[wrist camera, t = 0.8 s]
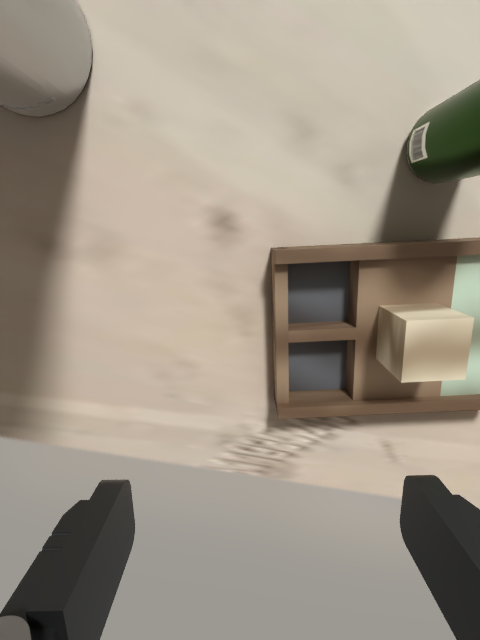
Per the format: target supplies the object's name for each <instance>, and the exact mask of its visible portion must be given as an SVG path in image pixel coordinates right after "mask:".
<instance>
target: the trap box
mask: <svg viewBox="0 0 480 640" xmlns="http://www.w3.org/2000/svg"><path fill="white" fill-rule="evenodd" d="M271 266H272V311H273V357H274V400H275V405H276V409H277V414H278V418H279V419H290V418H312V417H333V416H355V415H376V414H398V413H419V412H441V411H462V410H480V238H465V239H444V240H424V241H403V242H383V243H362V244H341V245H321V246H300V247H280V248H271ZM426 303H437V304H440V305H442V306H445V307H448V308H450V309H453V310H455V311H458V312H461V313H463V314H466V315H468V316H471V317H474V323H473V330H472V337H471V344H470V351H469V358H468V365H467V372H466V379H465V380H447V381H426V382H404V383H401V382H400V381H399V380H398V379H397V378H396V377H395V376H394V375H393V374H392V373H391V372H389V371H388V370H387V369H386V368H385V367H384V366H383V365H382V364H381V363H380V362H379V361H378V360H377V359H376V348H377V333H378V317H379V306H384V305H405V304H426Z"/></svg>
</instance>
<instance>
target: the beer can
mask: <svg viewBox="0 0 480 640" xmlns="http://www.w3.org/2000/svg"><path fill="white" fill-rule="evenodd" d="M406 156H407V160H408V163H409V166H410V168H411V169H412V170H413V172H414V173H415V174H416V175H417V176H418V177H420V178H421V179H423V180H424V181H427V182H431V183H444V182H450V181H455V180H459V179H464V178H469V177H474V176H478V175H480V80H479V81H477V82H475V83H474V84H472V85H470V86H469V87H467V88H465V89H464V90H462V91H460V92H459V93H457V94H456V95H454V96H452V97H451V98H449V99H447V100H446V101H444V102H442V103H441V104H439V105H437V106H436V107H434V108H432V109H431V110H429V111H428V112H426V113H425V114H424V115H423V116H422V117H421V118H420V119H419V120H418V121H417V123H416V124H415V126H414V127H413V129H412V130H411V133H410V136H409V139H408V143H407V153H406Z"/></svg>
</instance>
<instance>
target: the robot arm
mask: <svg viewBox="0 0 480 640" xmlns="http://www.w3.org/2000/svg"><path fill="white" fill-rule="evenodd" d="M91 64H92V44H91V37H90V31H89V28H88V25H87V22H86V19H85V16H84V14H83V12H82V10H81V8H80V6H79V4H78V3H77V1H76V0H0V106H3V107H5V108H7V109H9V110H11V111H13V112H16V113H19V114H22V115H26V116H37V117H41V116H47V115H52V114H55V113H57V112H59V111H61V110H64V109H65V108H66V107H68V106H69V105H70V104H71V103H73V102H74V101H75V100H76V98H77V97H78V96H79V94H80V93H81V92H82V90H83V88H84V86H85V84H86V82H87V79H88V77H89V72H90V68H91ZM400 528H401V533H402V537H403V540H404V542H405V544H406V547H407V548H408V550H409V552H410V554H411V556H412V557H413V560H414V561H415V563H416V565H417V567H418V569H419V570H420V572H421V574H422V576H423V578H424V580H425V582H426V584H427V586H428V587H429V589H430V591H431V593H432V595H433V596H434V598H435V600H436V602H437V604H438V606H439V608H440V610H441V611H442V613H443V615H444V617H445V619H446V621H447V623H448V624H449V626H450V628H451V630H452V632H453V633H454V636H455V637H456V639H457V640H480V510H479V509H478V508H477V507H475V506H474V505H473V504H471V503H470V502H468V501H467V500H466V499H464V498H463V497H461V496H460V495H452V494H451V493H450V491H449V490H448V489H447V488H446V487H445V485H444V484H443V483H442V482H441V480H440V479H439V478H438V477H436V476H434V475H416V476H406V478H405V480H404V486H403V496H402V505H401V514H400ZM134 534H135V520H134V512H133V503H132V493H131V485H130V482H129V480H102V481H101V482H100V483H99V484H98V486H97V488H96V489H95V491H94V493H93V495H92V496H91V498H90V500H80V501H79V502H78V503H76V504H75V505H74V506H73V507H72V508H71V509H70V510H68V511H67V512H66V513H65V514H64V515H63V516H62V518H61V519H60V521H59V523H58V524H57V526H56V527H55V529H54V530H53V532H52V536H50V537H49V538H48V540H47V541H46V543H45V545H44V546H43V548H42V551H41V552H39V554H38V555H37V557H36V559H35V560H34V562H33V563H32V565H31V566H30V568H29V570H28V571H27V573H26V574H25V576H24V577H23V579H22V580H21V582H20V584H19V585H18V587H17V588H16V590H15V592H14V593H13V594H12V596H11V598H10V599H9V601H8V602H7V604H6V605H5V607H4V609H3V610H2V612H1V613H0V640H100V637H101V635H102V632H103V629H104V626H105V623H106V620H107V617H108V614H109V612H110V609H111V606H112V603H113V600H114V597H115V594H116V592H117V589H118V586H119V583H120V580H121V577H122V575H123V571H124V569H125V566H126V563H127V560H128V557H129V554H130V551H131V549H132V545H133V540H134Z"/></svg>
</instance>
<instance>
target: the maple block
mask: <svg viewBox="0 0 480 640" xmlns="http://www.w3.org/2000/svg"><path fill="white" fill-rule="evenodd" d="M473 323H474V317H471V316H468V315H466V314H463V313H461V312H458V311H455V310H453V309H450V308H448V307H445V306H442V305H440V304H437V303H426V304H405V305H384V306H379V317H378V333H377V348H376V359H377V360H378V361H379V362H380V363H381V364H382V365H383V366H384V367H385V368H386V369H387V370H388V371H389V372H391V373H392V374H393V375H394V376H395V377H396V378H397V379H398V380H399V381H400V382H401V383H404V382H426V381H447V380H465V379H466V372H467V365H468V358H469V351H470V344H471V337H472V330H473Z"/></svg>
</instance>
